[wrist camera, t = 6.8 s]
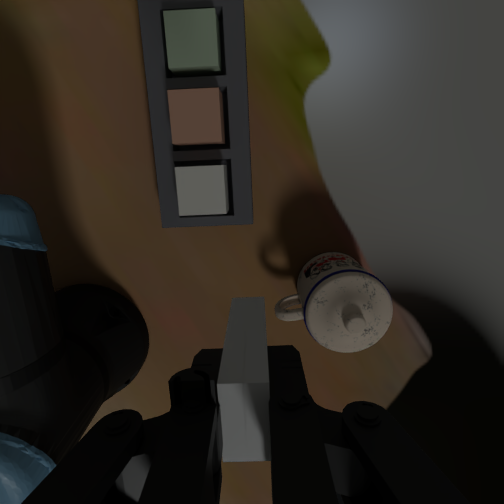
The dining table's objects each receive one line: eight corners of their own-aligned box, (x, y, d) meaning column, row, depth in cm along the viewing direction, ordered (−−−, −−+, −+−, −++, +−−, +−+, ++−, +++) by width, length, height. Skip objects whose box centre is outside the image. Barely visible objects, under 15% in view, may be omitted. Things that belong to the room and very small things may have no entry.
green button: (176, 77, 36) (168, 68, 33) (172, 25, 35) (163, 10, 32) (222, 74, 36) (218, 65, 33) (219, 23, 35) (215, 8, 32)
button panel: (171, 221, 42) (162, 227, 38) (149, 16, 37) (137, -2, 33) (253, 218, 42) (253, 224, 38) (244, 11, 36) (242, -8, 32)
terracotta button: (180, 145, 37) (172, 143, 33) (175, 97, 36) (167, 90, 32) (225, 143, 37) (221, 141, 33) (222, 94, 36) (218, 87, 32)
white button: (186, 211, 39) (179, 215, 35) (182, 166, 37) (174, 167, 34) (229, 209, 38) (226, 213, 35) (226, 164, 37) (223, 165, 34)
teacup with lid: (362, 242, 42) (400, 271, 31) (370, 310, 45) (409, 360, 33) (266, 261, 43) (269, 295, 32) (279, 326, 45) (286, 380, 34)
